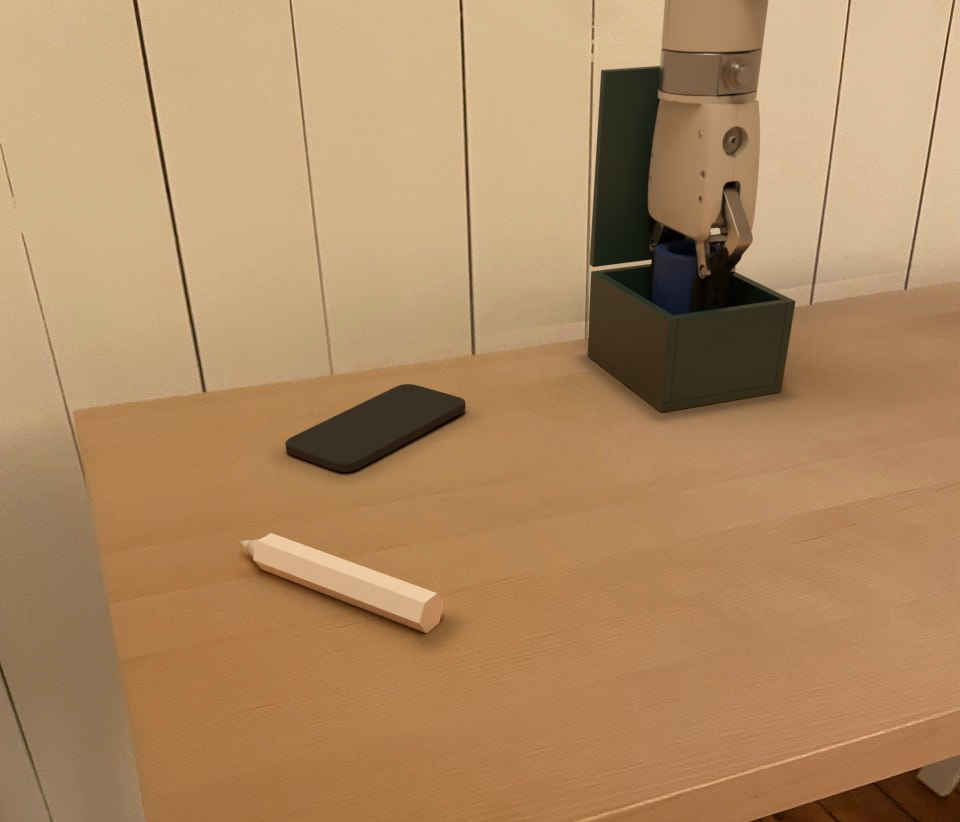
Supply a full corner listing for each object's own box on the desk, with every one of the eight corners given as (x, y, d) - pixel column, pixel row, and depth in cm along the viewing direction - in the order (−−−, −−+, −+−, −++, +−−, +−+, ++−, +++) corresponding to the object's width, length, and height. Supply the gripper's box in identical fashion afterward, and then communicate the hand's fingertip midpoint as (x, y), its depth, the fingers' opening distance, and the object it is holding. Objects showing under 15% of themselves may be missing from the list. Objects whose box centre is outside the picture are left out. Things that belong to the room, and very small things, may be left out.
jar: (680, 348, 94) (691, 236, 88) (728, 366, 90) (743, 250, 84) (632, 363, 91) (640, 248, 85) (680, 382, 87) (691, 263, 81)
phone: (277, 442, 78) (404, 381, 88) (279, 452, 79) (405, 390, 88) (346, 466, 75) (471, 400, 84) (348, 477, 75) (472, 409, 85)
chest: (781, 392, 87) (795, 301, 82) (661, 413, 84) (669, 319, 79) (696, 339, 98) (704, 256, 94) (587, 356, 95) (590, 271, 90)
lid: (732, 62, 83) (700, 53, 87) (605, 71, 80) (578, 61, 84) (707, 252, 93) (680, 237, 97) (592, 267, 90) (569, 250, 94)
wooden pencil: (242, 561, 67) (436, 633, 59) (218, 560, 65) (416, 633, 58) (250, 523, 67) (447, 590, 59) (227, 520, 65) (428, 589, 57)
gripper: (817, 86, 72) (779, 336, 82) (695, 61, 85) (675, 279, 95) (725, 93, 70) (697, 348, 80) (614, 67, 83) (603, 288, 93)
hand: (685, 309), depth 88 cm, fingers open, 6 cm apart
